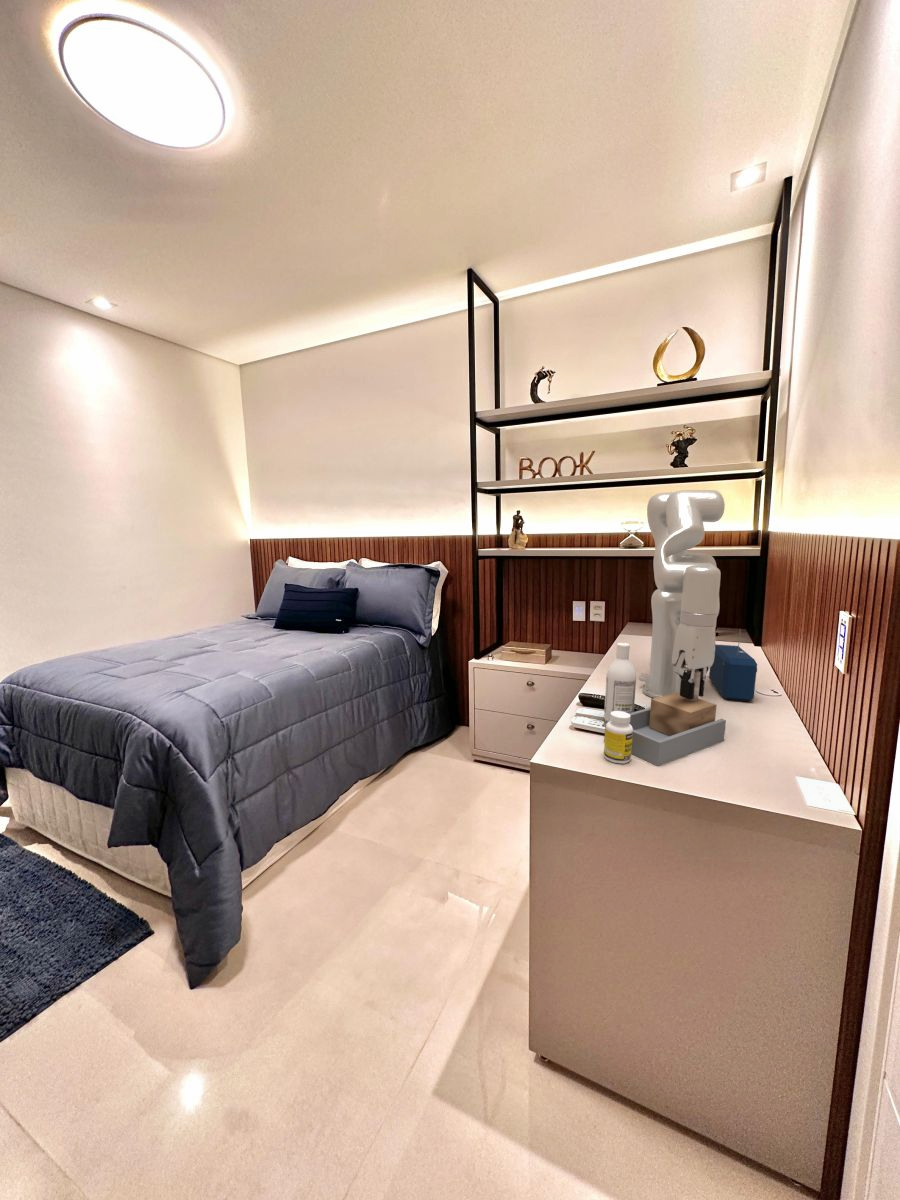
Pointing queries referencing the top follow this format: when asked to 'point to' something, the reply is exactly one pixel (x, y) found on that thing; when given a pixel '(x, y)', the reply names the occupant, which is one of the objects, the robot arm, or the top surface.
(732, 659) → the radio
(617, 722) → the supplement bottle
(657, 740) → the bay
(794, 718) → the top surface
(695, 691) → the block
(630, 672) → the bath foam
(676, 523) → the robot arm
